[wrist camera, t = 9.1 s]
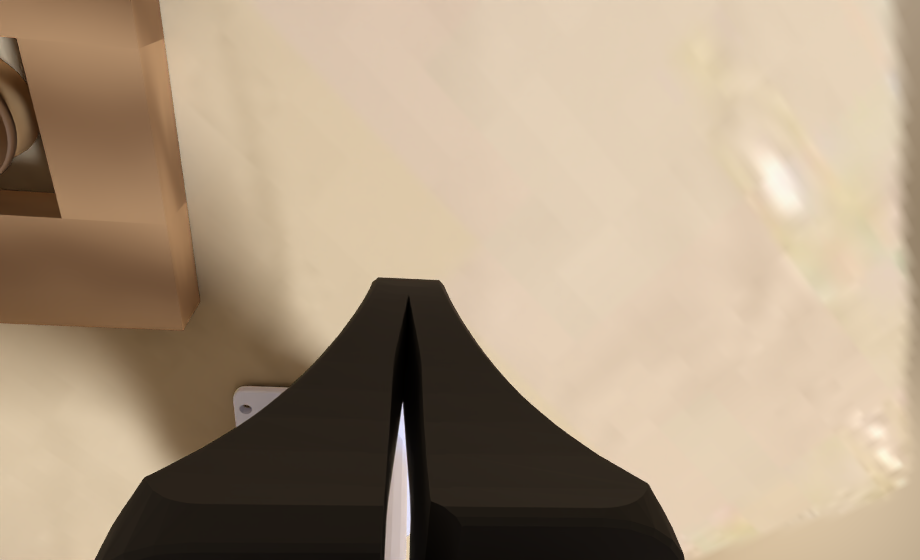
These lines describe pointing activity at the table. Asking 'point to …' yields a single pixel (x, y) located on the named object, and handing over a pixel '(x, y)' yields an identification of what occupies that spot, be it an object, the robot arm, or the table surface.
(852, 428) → the table surface
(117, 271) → the board
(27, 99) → the peg
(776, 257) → the table surface
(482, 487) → the robot arm
